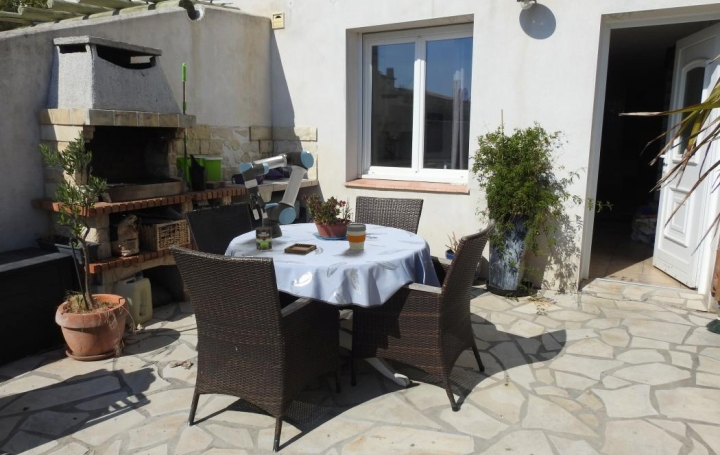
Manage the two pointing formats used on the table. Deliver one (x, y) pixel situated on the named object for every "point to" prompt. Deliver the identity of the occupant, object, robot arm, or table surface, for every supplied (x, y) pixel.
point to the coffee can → (263, 238)
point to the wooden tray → (300, 248)
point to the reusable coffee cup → (356, 236)
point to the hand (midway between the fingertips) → (261, 218)
